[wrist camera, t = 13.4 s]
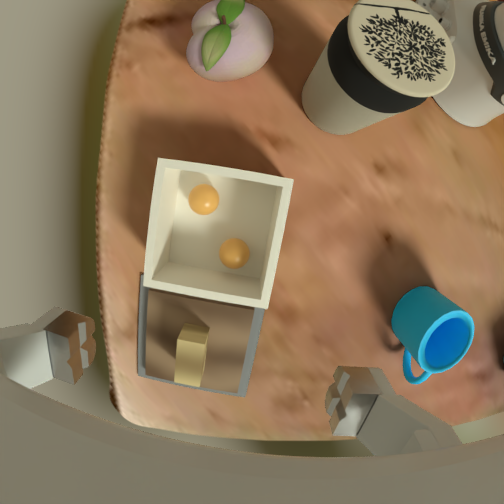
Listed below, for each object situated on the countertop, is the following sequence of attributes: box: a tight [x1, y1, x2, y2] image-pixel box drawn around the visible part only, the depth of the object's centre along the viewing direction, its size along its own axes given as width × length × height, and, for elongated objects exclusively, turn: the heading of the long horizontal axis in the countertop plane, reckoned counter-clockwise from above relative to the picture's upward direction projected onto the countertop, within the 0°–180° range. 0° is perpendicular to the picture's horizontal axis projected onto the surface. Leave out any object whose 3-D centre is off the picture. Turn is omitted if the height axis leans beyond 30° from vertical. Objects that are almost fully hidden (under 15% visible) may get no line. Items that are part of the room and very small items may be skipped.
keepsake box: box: [143, 158, 294, 309], centre depth 31 cm, size 12×12×7 cm
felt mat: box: [138, 274, 265, 397], centre depth 38 cm, size 15×15×1 cm
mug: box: [391, 286, 474, 384], centre depth 33 cm, size 12×8×8 cm
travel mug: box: [302, 0, 455, 135], centre depth 22 cm, size 8×8×18 cm
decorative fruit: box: [186, 0, 274, 82], centre depth 25 cm, size 9×8×10 cm
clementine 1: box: [188, 184, 219, 215], centre depth 31 cm, size 3×3×3 cm
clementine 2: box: [219, 238, 250, 269], centre depth 33 cm, size 3×3×3 cm
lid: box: [145, 288, 255, 393], centre depth 35 cm, size 12×12×5 cm
